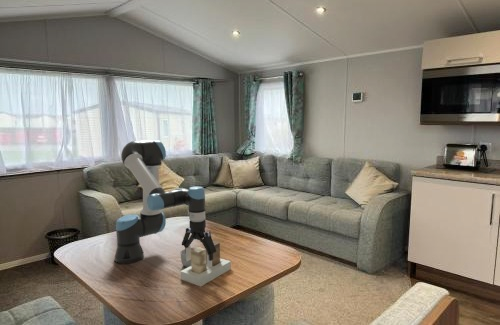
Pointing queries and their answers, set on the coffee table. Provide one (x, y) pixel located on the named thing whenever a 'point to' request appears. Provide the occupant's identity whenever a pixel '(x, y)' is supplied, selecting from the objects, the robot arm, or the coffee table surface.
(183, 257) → the teacup
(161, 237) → the coffee table surface
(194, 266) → the pin
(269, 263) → the coffee table surface
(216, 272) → the bore block
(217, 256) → the walnut pin
